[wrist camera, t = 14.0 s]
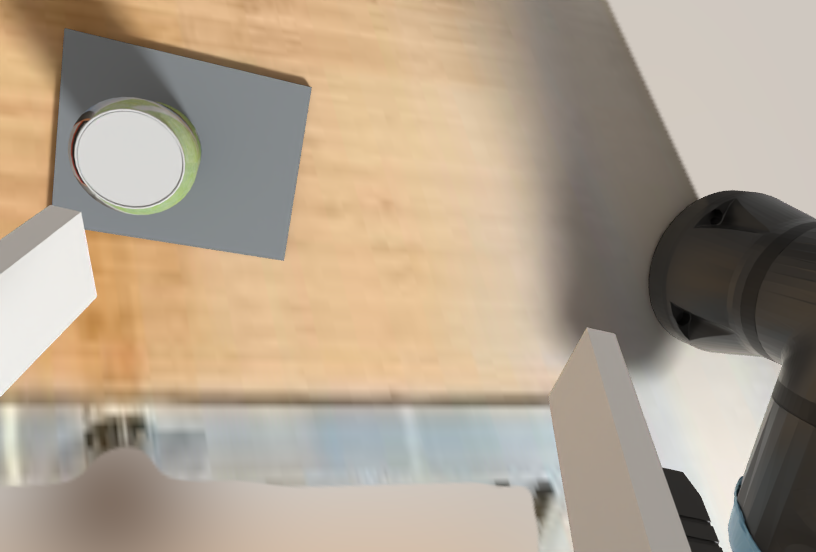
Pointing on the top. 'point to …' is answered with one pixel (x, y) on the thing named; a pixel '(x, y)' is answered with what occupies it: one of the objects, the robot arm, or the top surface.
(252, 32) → the top surface
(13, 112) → the top surface
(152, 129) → the beverage can
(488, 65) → the top surface
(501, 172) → the top surface
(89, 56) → the rubber mat
